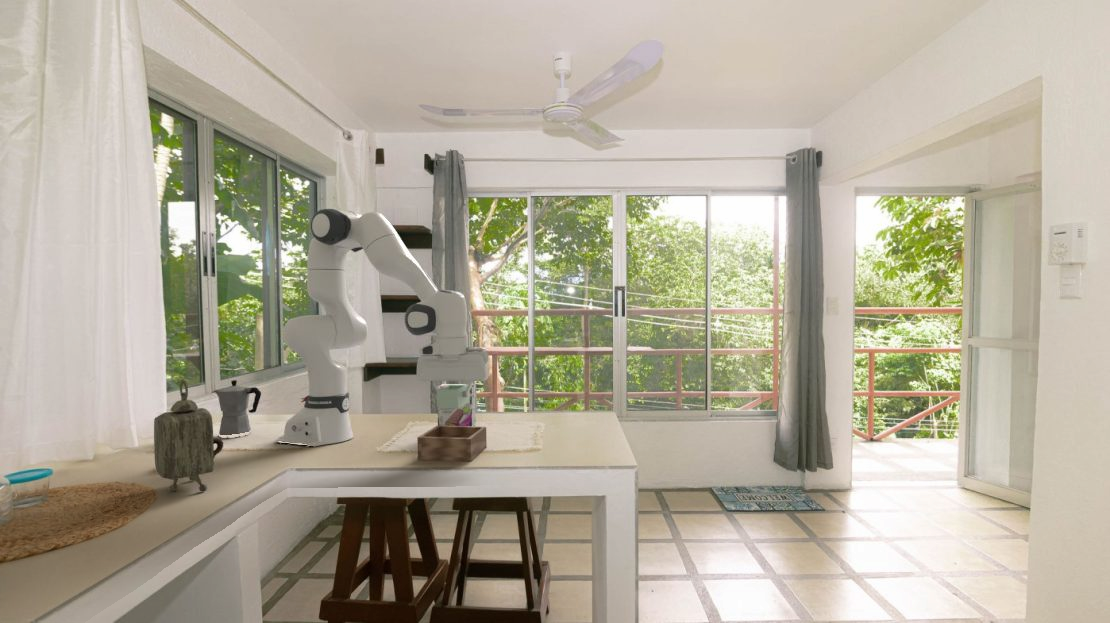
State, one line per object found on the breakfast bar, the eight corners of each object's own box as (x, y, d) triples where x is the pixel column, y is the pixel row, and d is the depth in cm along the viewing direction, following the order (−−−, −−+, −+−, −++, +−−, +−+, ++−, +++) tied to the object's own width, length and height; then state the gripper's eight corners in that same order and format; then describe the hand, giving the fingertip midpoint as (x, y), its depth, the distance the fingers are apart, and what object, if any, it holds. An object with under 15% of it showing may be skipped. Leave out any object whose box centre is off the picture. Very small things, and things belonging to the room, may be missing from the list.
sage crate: (437, 408, 144) (436, 389, 144) (449, 402, 153) (448, 385, 153) (458, 408, 143) (457, 389, 143) (469, 402, 152) (468, 385, 152)
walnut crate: (417, 459, 143) (417, 437, 143) (437, 445, 157) (437, 425, 157) (471, 461, 140) (470, 439, 140) (486, 447, 154) (486, 426, 154)
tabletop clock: (214, 491, 120) (212, 381, 119) (165, 502, 113) (162, 386, 113) (200, 477, 130) (198, 375, 130) (154, 486, 124) (152, 379, 123)
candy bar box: (437, 438, 165) (436, 386, 165) (442, 434, 170) (441, 383, 170) (472, 439, 164) (471, 386, 164) (476, 435, 169) (475, 383, 169)
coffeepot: (205, 439, 168) (204, 382, 168) (225, 431, 177) (223, 378, 177) (252, 439, 167) (251, 382, 167) (270, 431, 177) (268, 378, 176)
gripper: (491, 346, 149) (492, 395, 149) (422, 347, 153) (424, 395, 153) (484, 348, 143) (485, 399, 143) (413, 348, 147) (414, 398, 147)
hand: (453, 397), depth 148 cm, fingers closed on sage crate, 6 cm apart
